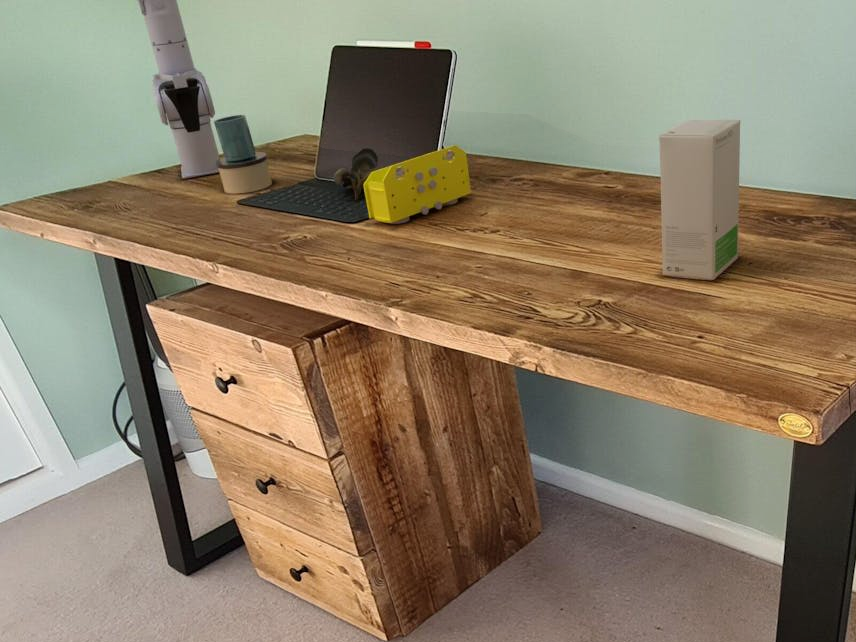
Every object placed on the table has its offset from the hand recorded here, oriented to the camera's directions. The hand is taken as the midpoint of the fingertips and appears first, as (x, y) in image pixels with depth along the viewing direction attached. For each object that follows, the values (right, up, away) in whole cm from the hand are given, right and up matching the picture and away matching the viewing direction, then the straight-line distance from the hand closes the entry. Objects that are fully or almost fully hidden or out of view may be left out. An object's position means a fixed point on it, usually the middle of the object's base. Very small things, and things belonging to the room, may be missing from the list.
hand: (193, 128), depth 156 cm
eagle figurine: (+31, -14, -8) cm, 35 cm away
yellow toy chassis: (+42, -20, -21) cm, 51 cm away
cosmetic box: (+77, -35, -52) cm, 99 cm away
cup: (+8, -5, +1) cm, 9 cm away
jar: (+9, -9, +3) cm, 13 cm away
